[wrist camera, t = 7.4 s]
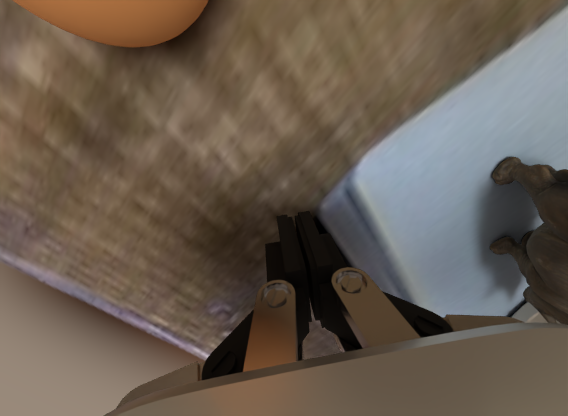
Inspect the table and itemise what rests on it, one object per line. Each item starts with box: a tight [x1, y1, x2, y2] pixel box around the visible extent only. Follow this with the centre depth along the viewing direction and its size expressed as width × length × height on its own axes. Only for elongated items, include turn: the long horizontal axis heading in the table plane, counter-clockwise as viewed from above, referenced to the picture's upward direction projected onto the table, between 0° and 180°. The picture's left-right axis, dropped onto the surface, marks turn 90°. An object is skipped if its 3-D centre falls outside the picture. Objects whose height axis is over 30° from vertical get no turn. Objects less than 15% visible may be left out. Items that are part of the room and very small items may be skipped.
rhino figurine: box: [490, 157, 568, 325], centre depth 13 cm, size 4×14×6 cm, turn 27°
